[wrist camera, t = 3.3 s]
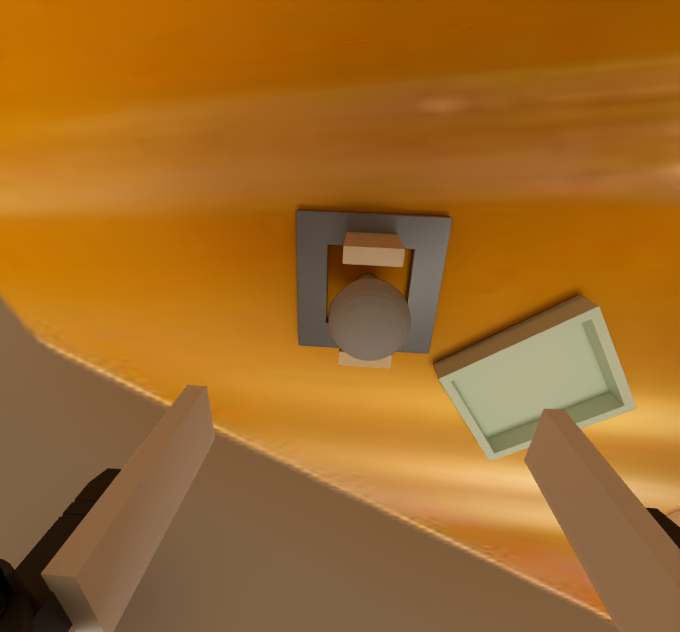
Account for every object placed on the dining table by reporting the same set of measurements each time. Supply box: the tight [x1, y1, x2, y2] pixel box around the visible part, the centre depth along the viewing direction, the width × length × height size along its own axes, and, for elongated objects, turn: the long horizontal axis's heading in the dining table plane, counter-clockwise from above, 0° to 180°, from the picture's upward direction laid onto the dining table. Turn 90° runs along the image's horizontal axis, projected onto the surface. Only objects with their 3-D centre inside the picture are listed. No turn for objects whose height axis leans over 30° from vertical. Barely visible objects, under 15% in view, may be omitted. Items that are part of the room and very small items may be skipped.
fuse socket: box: [296, 209, 453, 369], centre depth 26 cm, size 12×12×6 cm
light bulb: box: [329, 274, 411, 361], centre depth 24 cm, size 5×5×10 cm
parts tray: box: [433, 295, 636, 461], centre depth 30 cm, size 14×12×2 cm
